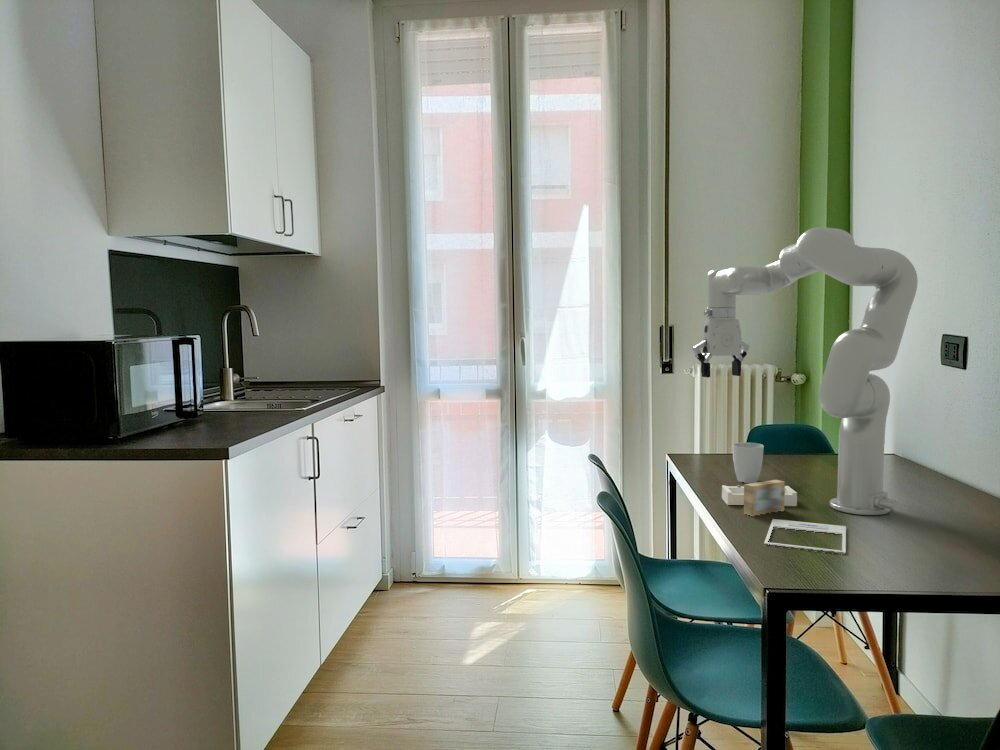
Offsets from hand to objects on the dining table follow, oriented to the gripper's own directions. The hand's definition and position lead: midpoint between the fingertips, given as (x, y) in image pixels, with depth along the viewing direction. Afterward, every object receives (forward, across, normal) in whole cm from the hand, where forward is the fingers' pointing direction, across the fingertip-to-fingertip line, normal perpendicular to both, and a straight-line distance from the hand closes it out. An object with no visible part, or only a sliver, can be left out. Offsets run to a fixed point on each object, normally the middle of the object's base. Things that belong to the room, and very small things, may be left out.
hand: (721, 376), depth 197 cm
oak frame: (+29, -11, -33) cm, 45 cm away
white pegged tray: (+29, -6, -25) cm, 39 cm away
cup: (+29, +4, -6) cm, 30 cm away
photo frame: (+30, -14, -51) cm, 61 cm away
